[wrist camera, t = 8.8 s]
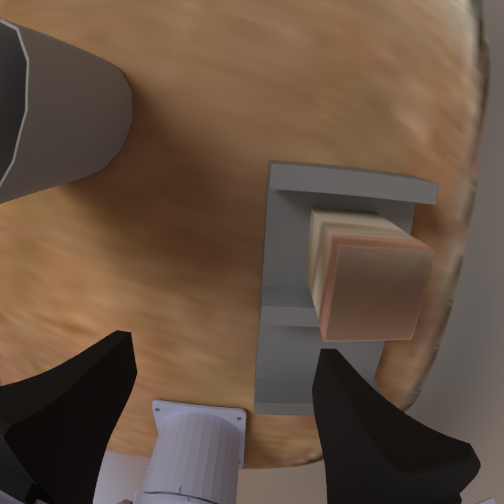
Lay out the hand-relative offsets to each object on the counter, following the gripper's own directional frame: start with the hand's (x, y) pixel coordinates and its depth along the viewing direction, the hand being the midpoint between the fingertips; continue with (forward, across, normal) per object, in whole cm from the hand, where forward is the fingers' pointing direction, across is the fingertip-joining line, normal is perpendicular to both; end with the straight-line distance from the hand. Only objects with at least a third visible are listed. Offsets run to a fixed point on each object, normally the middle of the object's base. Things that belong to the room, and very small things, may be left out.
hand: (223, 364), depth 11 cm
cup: (+10, +11, -10) cm, 18 cm away
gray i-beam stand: (+9, -6, +1) cm, 11 cm away
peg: (+8, -6, -3) cm, 11 cm away
